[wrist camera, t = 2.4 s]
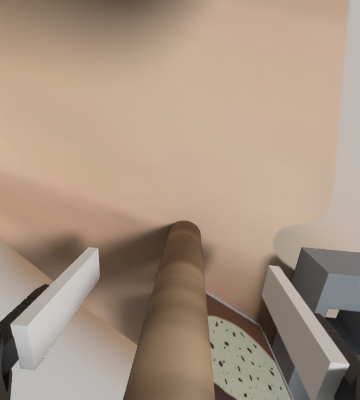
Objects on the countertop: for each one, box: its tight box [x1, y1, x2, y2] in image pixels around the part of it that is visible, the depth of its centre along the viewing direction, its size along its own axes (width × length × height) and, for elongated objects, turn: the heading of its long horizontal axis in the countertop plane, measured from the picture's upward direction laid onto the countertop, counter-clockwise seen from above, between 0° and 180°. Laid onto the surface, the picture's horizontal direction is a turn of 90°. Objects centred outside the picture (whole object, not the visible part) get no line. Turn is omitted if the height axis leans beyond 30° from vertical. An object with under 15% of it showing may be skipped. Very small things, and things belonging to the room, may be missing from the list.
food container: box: [205, 290, 294, 400], centre depth 18 cm, size 12×6×10 cm, turn 56°
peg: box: [123, 221, 215, 400], centre depth 13 cm, size 3×3×14 cm
